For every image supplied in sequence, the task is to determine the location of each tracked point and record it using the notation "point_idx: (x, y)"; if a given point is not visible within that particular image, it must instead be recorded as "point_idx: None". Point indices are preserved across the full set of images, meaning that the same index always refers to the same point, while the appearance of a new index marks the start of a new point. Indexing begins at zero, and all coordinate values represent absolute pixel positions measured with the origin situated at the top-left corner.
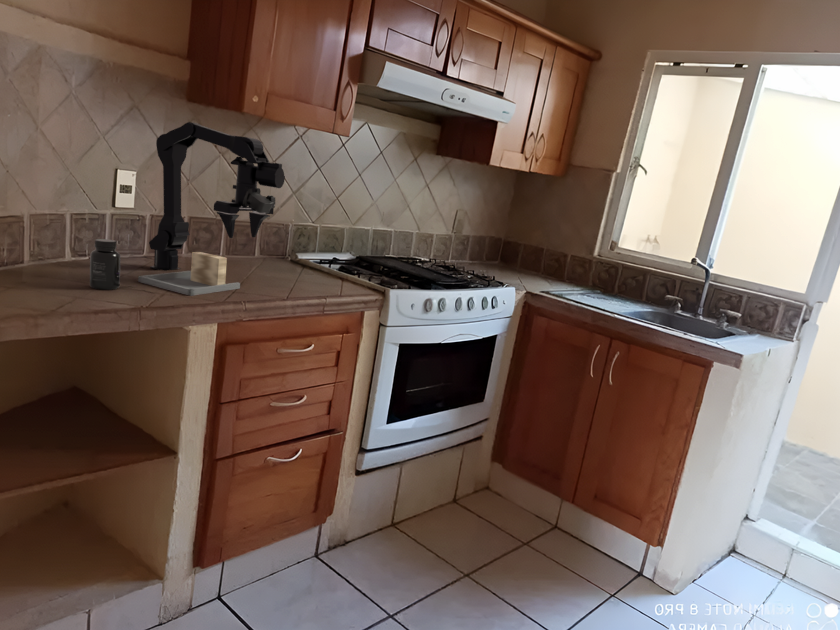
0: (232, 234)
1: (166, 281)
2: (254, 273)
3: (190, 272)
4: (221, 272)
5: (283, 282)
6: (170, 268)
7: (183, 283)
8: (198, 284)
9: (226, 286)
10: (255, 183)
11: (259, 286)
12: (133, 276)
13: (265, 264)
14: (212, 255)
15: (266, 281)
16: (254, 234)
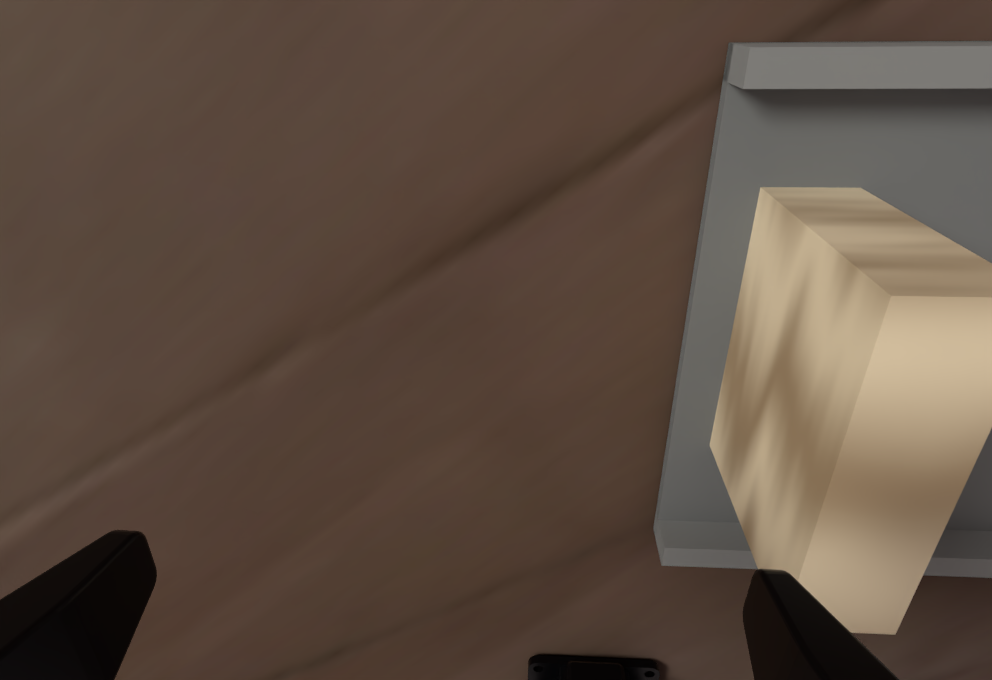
0: (818, 624)
1: None
2: (104, 434)
3: (682, 542)
4: (883, 230)
5: (49, 77)
6: (624, 671)
7: None
8: None
9: (954, 45)
10: None
11: (417, 65)
12: (907, 654)
13: None
14: (876, 471)
15: (195, 191)
16: (106, 576)
